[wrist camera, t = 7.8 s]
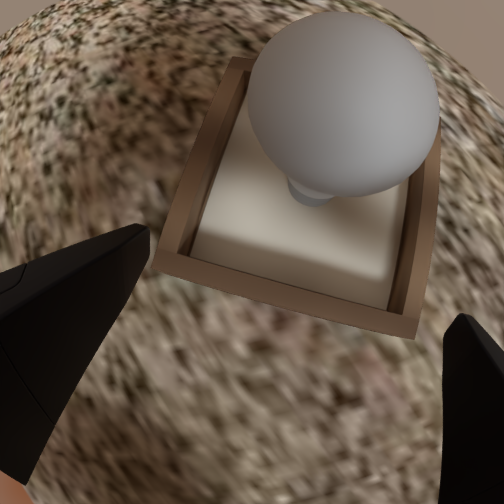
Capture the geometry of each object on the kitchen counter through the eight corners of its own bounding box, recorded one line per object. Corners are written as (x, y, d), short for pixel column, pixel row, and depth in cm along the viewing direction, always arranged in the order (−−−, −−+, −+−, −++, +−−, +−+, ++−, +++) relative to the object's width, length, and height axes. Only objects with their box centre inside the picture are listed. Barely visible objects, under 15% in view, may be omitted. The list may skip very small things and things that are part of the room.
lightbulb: (261, 253, 16) (267, 151, 6) (244, 146, 17) (230, -22, 7) (374, 236, 16) (509, 142, 6) (348, 135, 18) (417, -12, 7)
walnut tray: (392, 335, 16) (414, 339, 14) (166, 274, 17) (150, 267, 15) (422, 137, 19) (440, 116, 16) (235, 83, 19) (232, 56, 17)
